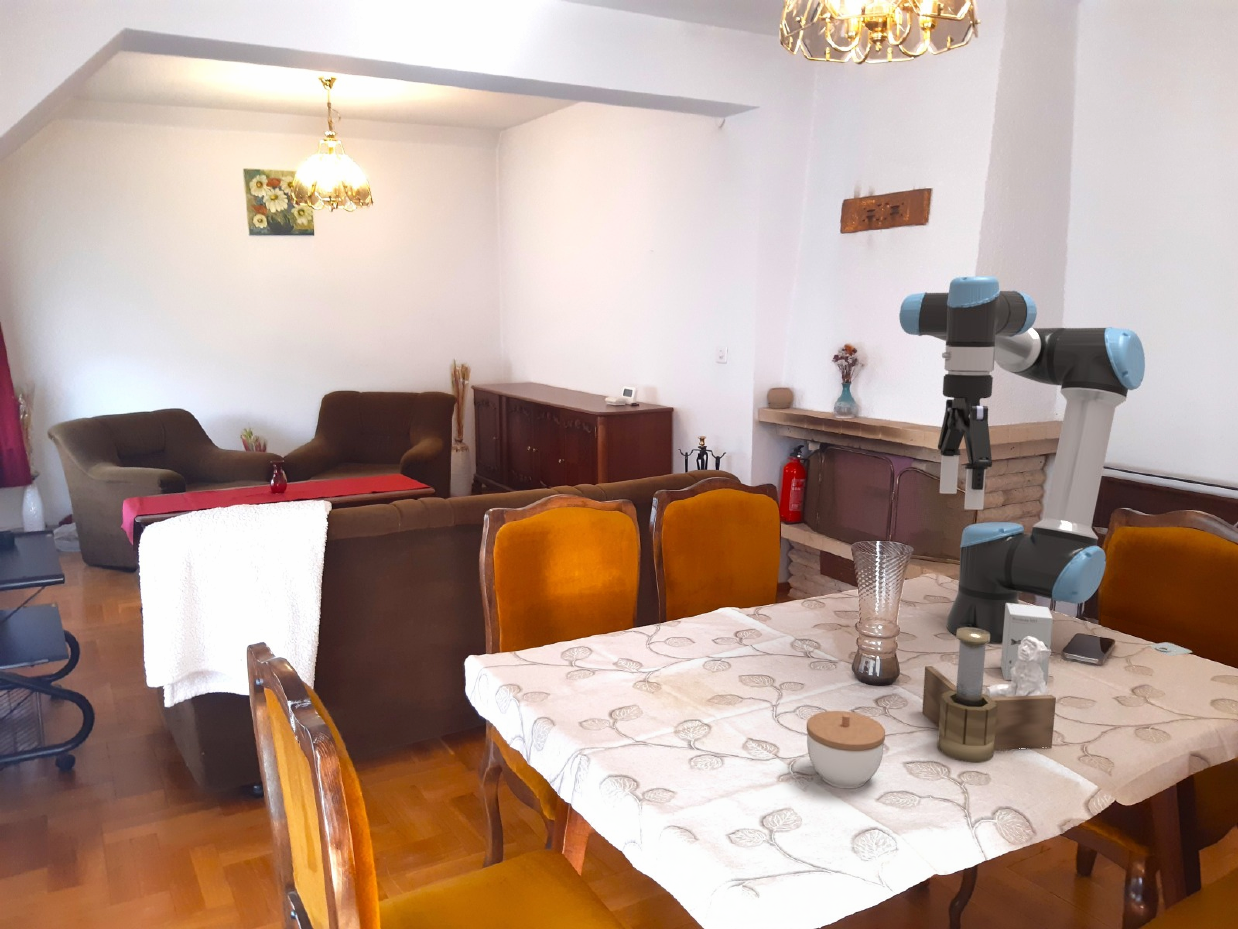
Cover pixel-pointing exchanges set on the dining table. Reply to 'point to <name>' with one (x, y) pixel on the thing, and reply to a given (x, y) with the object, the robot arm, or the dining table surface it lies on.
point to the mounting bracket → (1170, 649)
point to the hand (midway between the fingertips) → (960, 501)
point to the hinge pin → (971, 665)
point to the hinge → (986, 721)
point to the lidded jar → (845, 747)
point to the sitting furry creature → (1025, 672)
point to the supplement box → (1024, 634)
